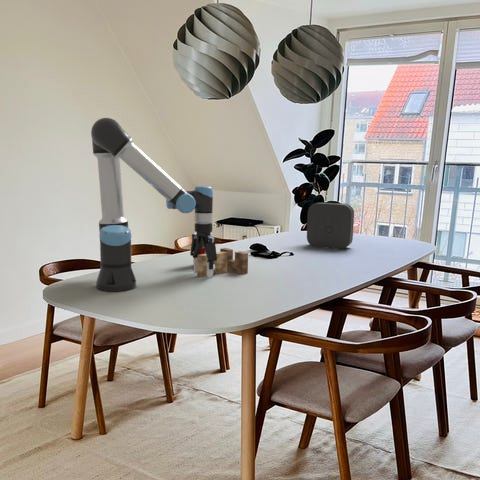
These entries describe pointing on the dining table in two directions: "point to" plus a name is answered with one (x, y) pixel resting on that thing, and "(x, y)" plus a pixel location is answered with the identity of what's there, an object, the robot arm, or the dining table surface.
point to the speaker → (330, 225)
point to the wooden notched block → (236, 261)
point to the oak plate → (219, 264)
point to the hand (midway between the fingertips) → (203, 274)
